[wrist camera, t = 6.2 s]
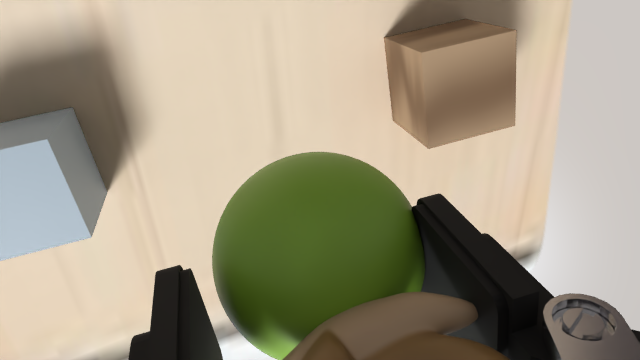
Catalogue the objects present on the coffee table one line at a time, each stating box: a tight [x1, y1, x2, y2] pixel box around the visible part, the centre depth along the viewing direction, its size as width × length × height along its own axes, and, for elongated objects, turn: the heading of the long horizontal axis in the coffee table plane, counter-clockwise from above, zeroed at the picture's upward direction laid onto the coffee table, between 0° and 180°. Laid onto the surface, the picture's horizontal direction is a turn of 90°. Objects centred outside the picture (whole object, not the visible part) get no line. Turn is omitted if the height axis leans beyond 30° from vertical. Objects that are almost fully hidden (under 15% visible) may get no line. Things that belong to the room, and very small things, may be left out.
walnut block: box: [384, 19, 517, 149], centre depth 26 cm, size 5×5×5 cm
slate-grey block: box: [0, 107, 107, 261], centre depth 23 cm, size 5×5×5 cm
